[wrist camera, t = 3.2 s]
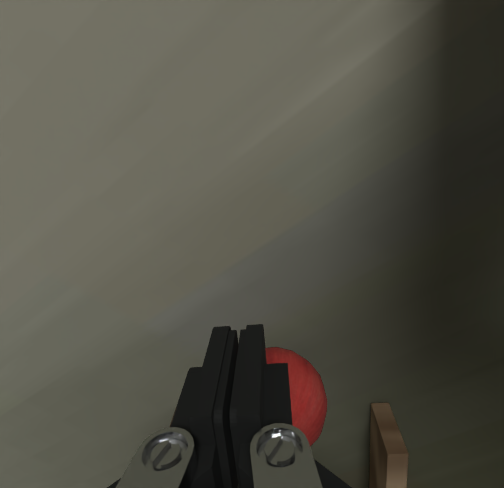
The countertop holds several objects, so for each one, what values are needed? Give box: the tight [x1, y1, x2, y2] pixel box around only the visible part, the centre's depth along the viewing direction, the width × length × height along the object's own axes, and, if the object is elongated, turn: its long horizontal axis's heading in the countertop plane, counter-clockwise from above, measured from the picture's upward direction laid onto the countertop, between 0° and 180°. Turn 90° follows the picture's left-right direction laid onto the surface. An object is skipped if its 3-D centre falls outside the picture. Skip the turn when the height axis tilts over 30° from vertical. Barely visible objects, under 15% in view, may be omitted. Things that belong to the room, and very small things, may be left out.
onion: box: [265, 347, 327, 446], centre depth 21 cm, size 6×6×8 cm
